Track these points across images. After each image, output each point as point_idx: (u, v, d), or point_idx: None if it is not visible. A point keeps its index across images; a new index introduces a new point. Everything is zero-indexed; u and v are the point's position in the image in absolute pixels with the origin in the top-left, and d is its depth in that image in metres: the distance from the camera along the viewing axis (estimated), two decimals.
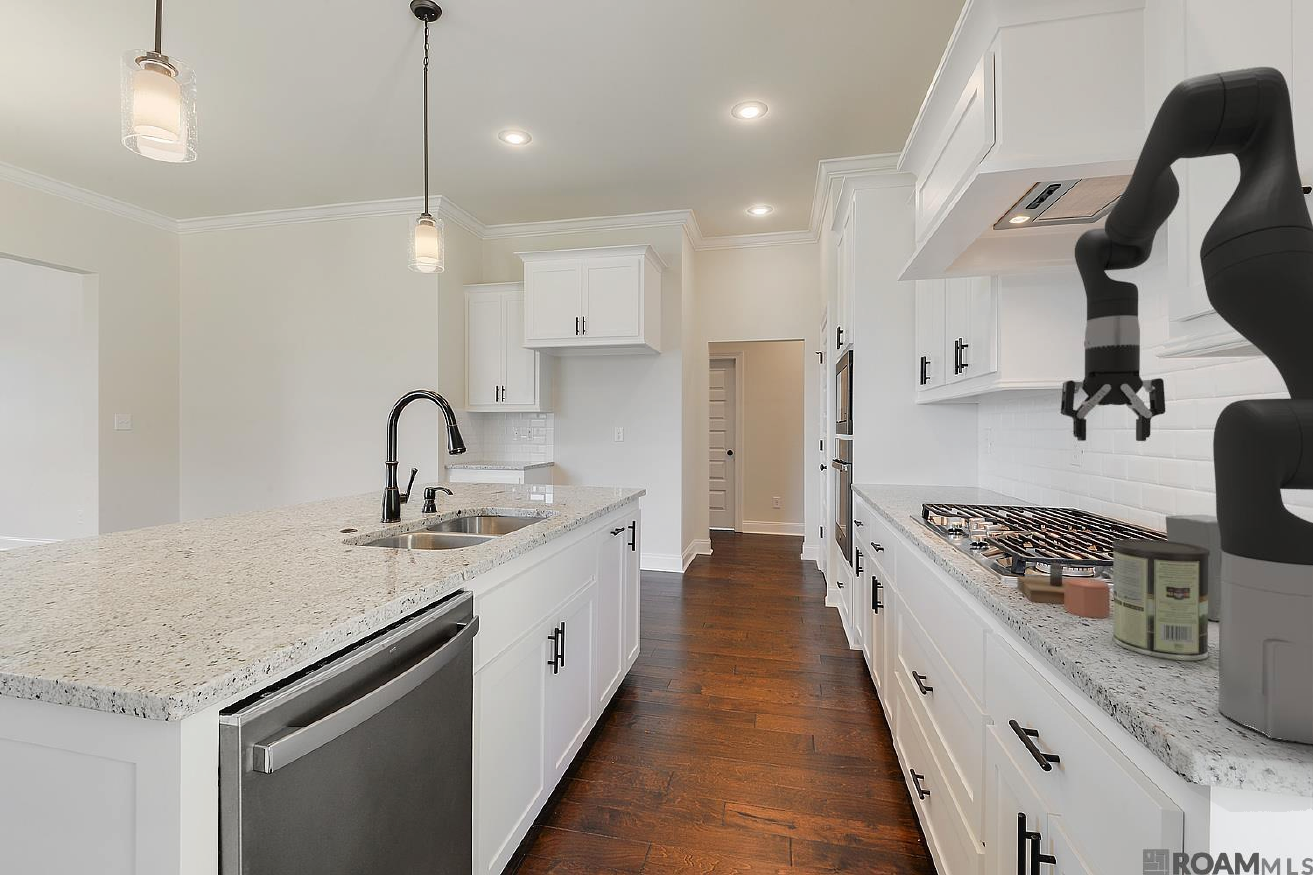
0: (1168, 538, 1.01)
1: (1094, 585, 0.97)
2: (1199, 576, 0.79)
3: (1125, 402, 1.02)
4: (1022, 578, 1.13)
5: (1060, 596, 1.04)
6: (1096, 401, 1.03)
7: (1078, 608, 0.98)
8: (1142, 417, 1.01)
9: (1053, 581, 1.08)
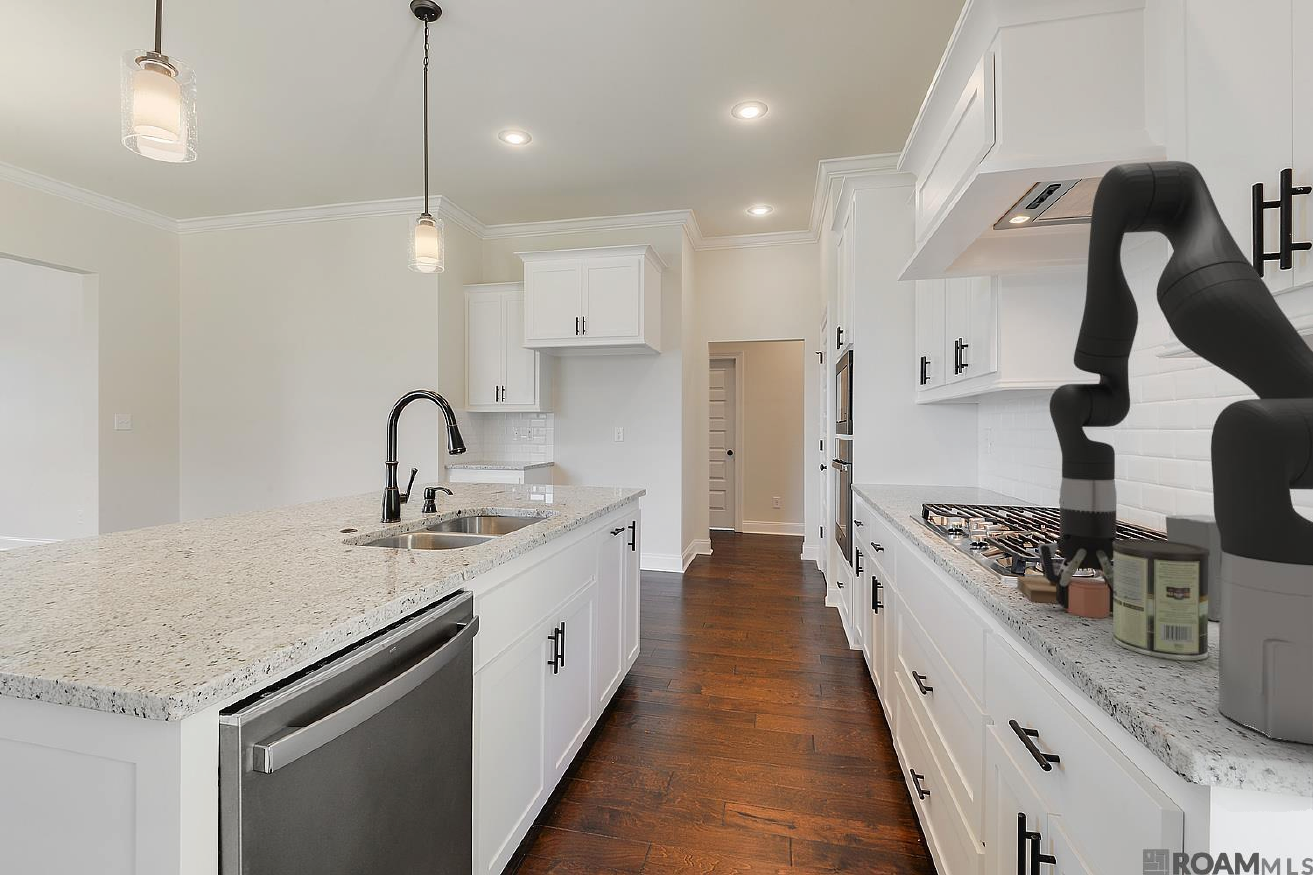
0: (1168, 538, 1.01)
1: (1094, 585, 0.97)
2: (1199, 576, 0.79)
3: (1096, 567, 0.98)
4: (1022, 578, 1.13)
5: None
6: (1075, 567, 0.98)
7: (1078, 608, 0.98)
8: (1109, 587, 0.97)
9: None
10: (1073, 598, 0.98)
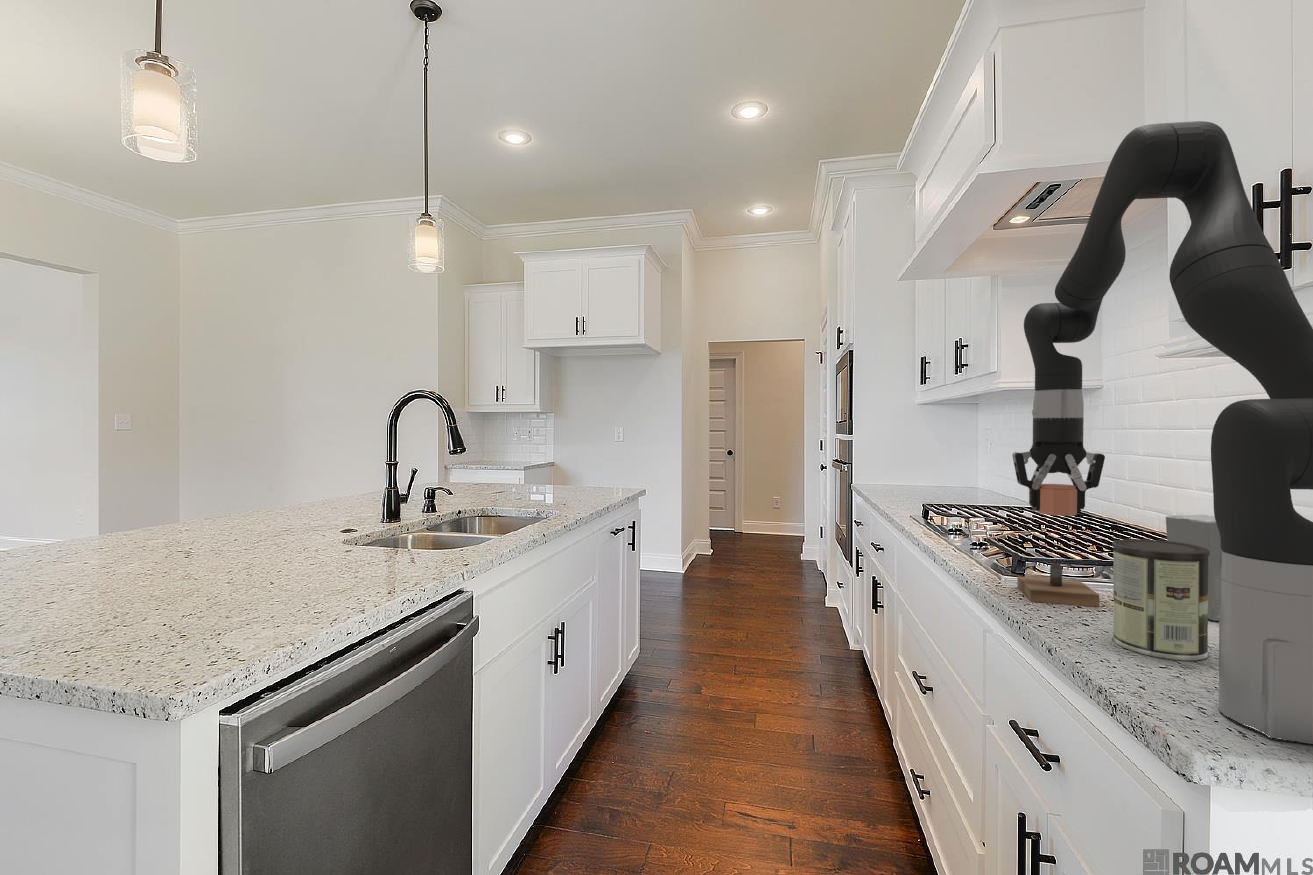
0: (1168, 538, 1.01)
1: (1063, 486, 1.06)
2: (1199, 576, 0.79)
3: (1065, 471, 1.07)
4: (1022, 578, 1.13)
5: (1060, 596, 1.04)
6: (1046, 471, 1.07)
7: (1048, 508, 1.07)
8: (1077, 488, 1.06)
9: (1053, 581, 1.08)
10: (1044, 500, 1.07)
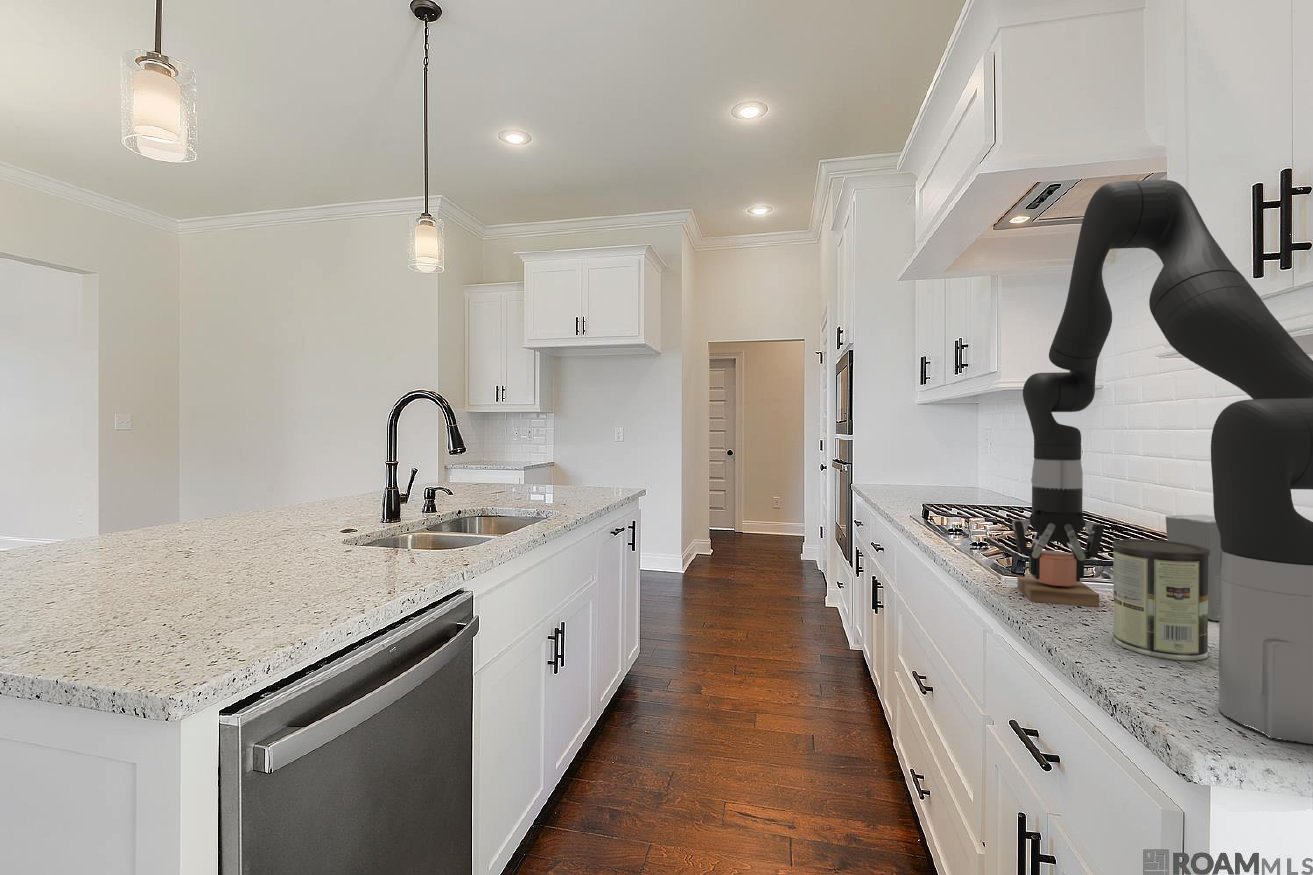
0: (1168, 538, 1.01)
1: (1062, 556, 1.06)
2: (1199, 576, 0.79)
3: (1064, 540, 1.07)
4: (1022, 578, 1.13)
5: (1060, 596, 1.04)
6: (1045, 540, 1.07)
7: (1048, 578, 1.07)
8: (1076, 558, 1.07)
9: None
10: (1043, 569, 1.07)
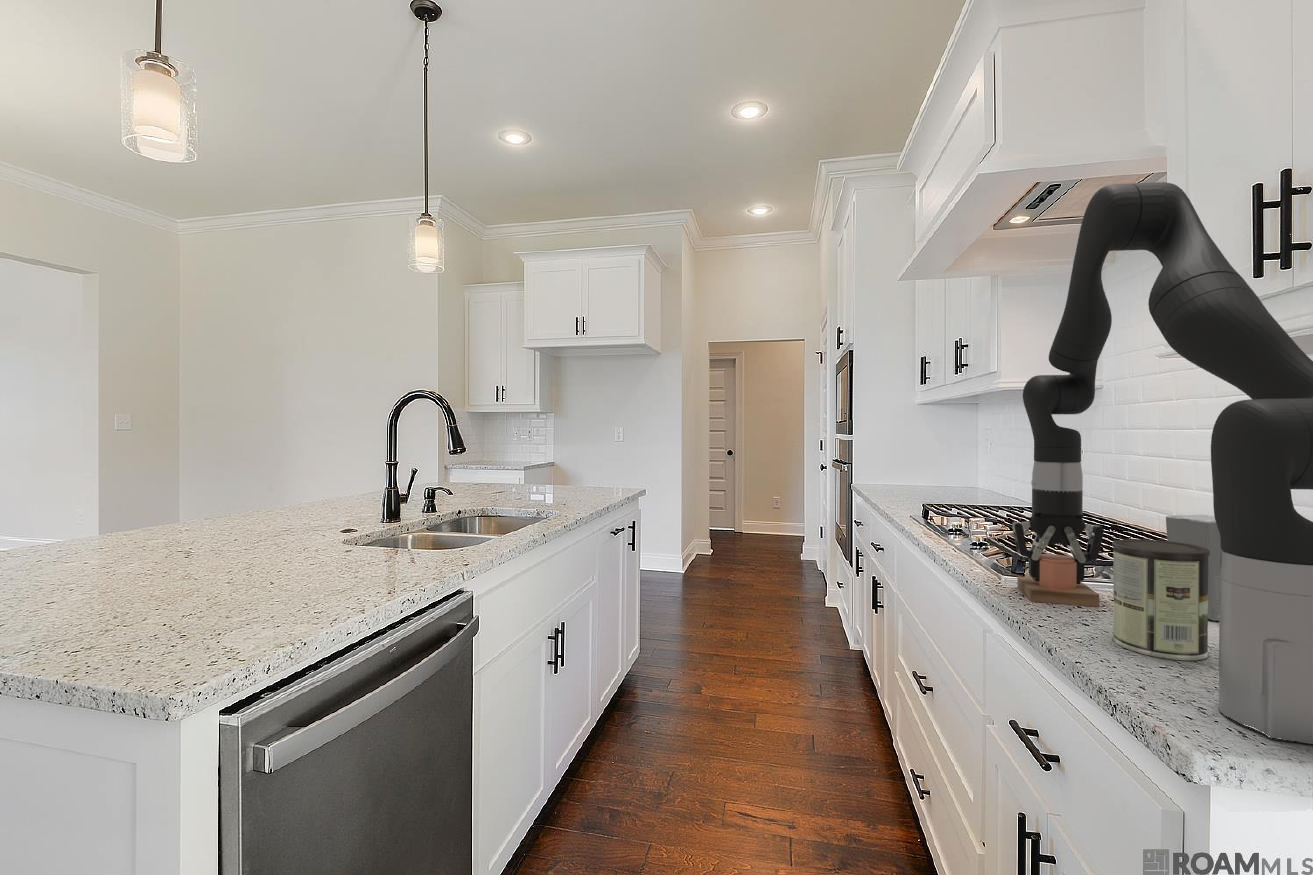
0: (1168, 538, 1.01)
1: (1062, 560, 1.06)
2: (1199, 576, 0.79)
3: (1065, 543, 1.07)
4: (1022, 578, 1.13)
5: (1060, 596, 1.04)
6: (1045, 542, 1.07)
7: (1048, 581, 1.07)
8: (1076, 560, 1.07)
9: None
10: (1043, 572, 1.07)
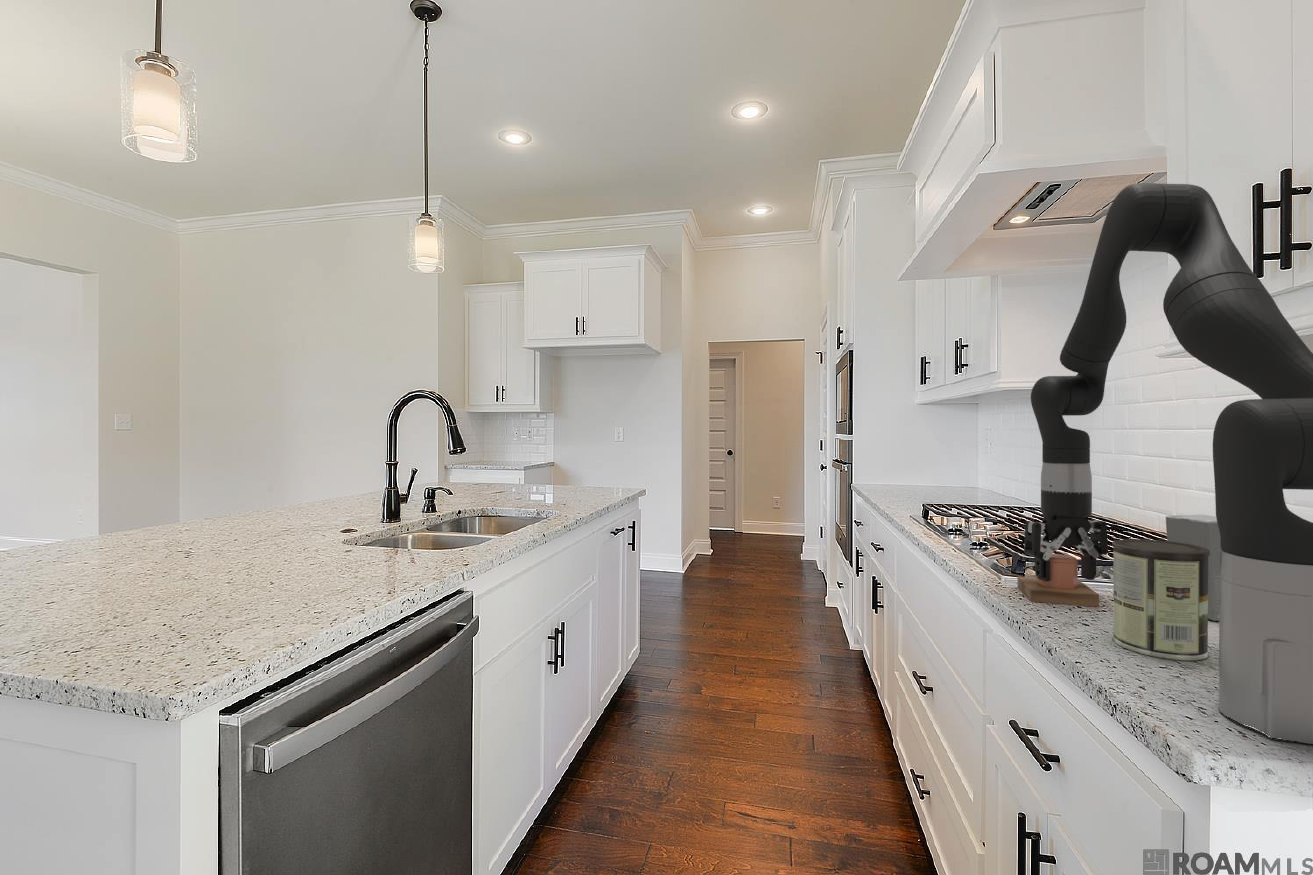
0: (1168, 538, 1.01)
1: (1072, 558, 1.07)
2: (1199, 576, 0.79)
3: (1078, 543, 1.07)
4: (1022, 578, 1.13)
5: (1060, 596, 1.04)
6: (1059, 543, 1.06)
7: (1068, 582, 1.06)
8: (1090, 557, 1.07)
9: None
10: (1063, 574, 1.06)
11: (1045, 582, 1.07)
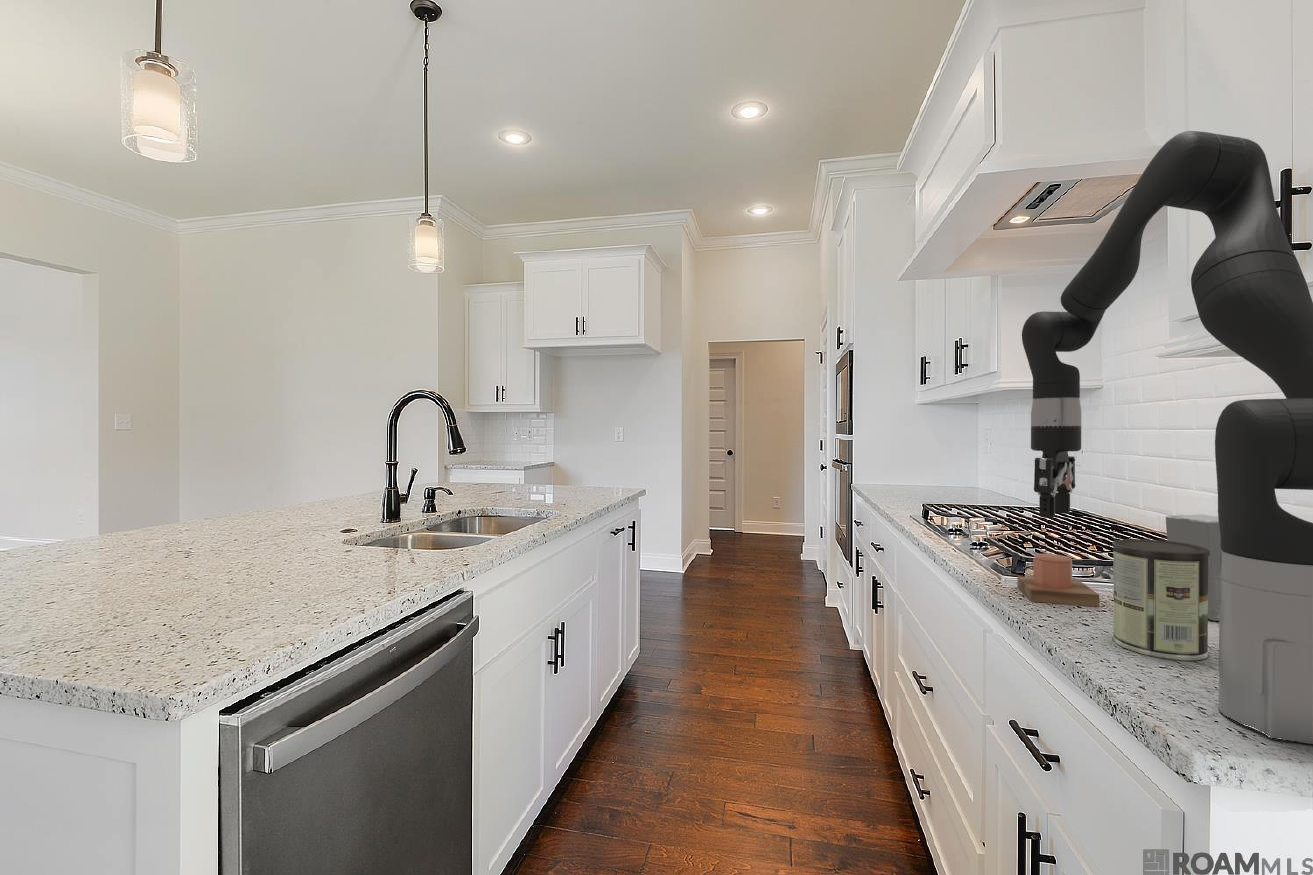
0: (1168, 538, 1.01)
1: (1062, 556, 1.09)
2: (1199, 576, 0.79)
3: (1064, 478, 1.08)
4: (1022, 578, 1.13)
5: (1060, 596, 1.04)
6: (1061, 478, 1.05)
7: (1071, 580, 1.07)
8: (1066, 492, 1.10)
9: None
10: (1071, 573, 1.06)
11: (1059, 585, 1.06)
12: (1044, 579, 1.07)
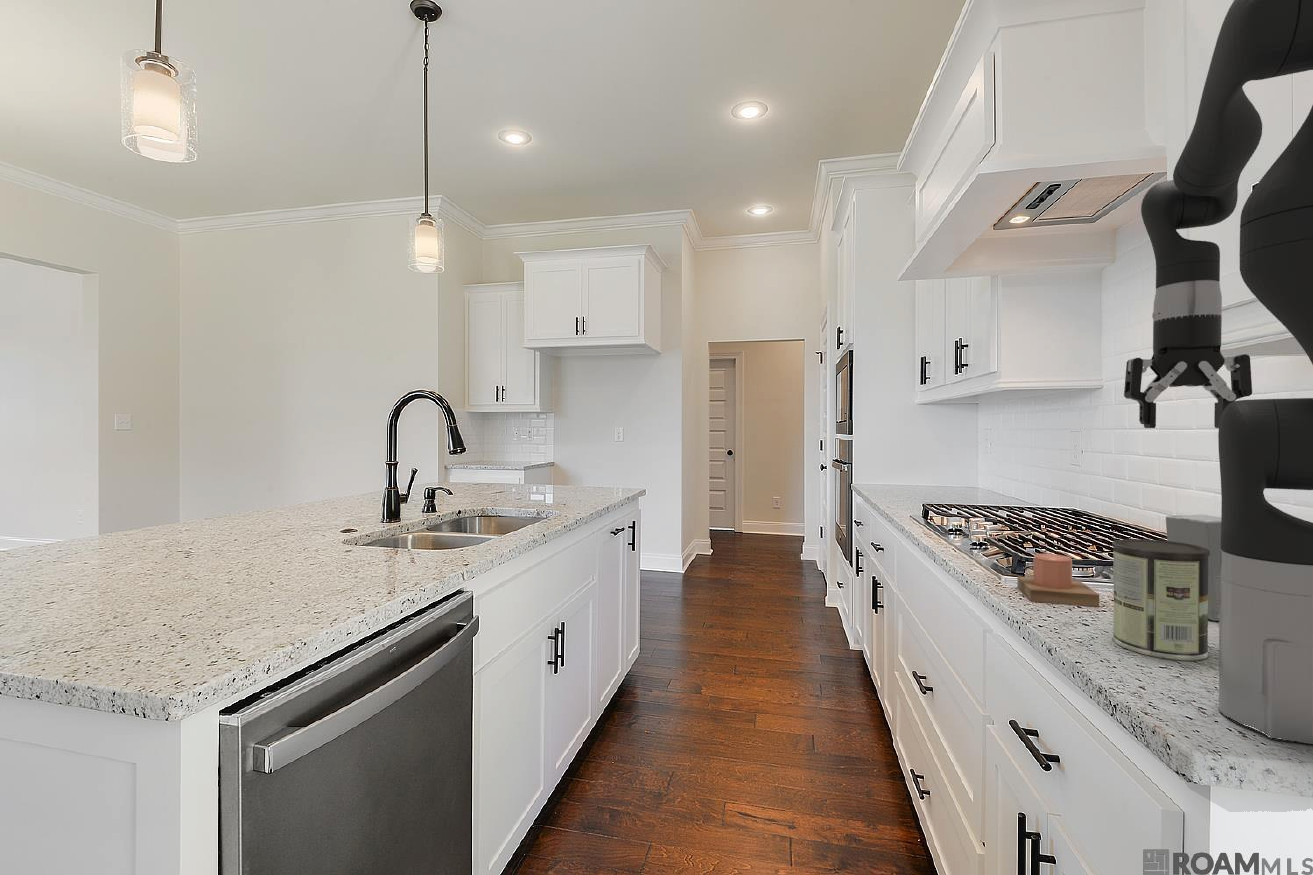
0: (1168, 538, 1.01)
1: (1062, 556, 1.09)
2: (1199, 576, 0.79)
3: (1203, 383, 0.87)
4: (1022, 578, 1.13)
5: (1060, 596, 1.04)
6: (1169, 381, 0.88)
7: (1071, 580, 1.07)
8: (1223, 400, 0.87)
9: None
10: (1071, 573, 1.06)
11: (1059, 585, 1.06)
12: (1044, 579, 1.07)
